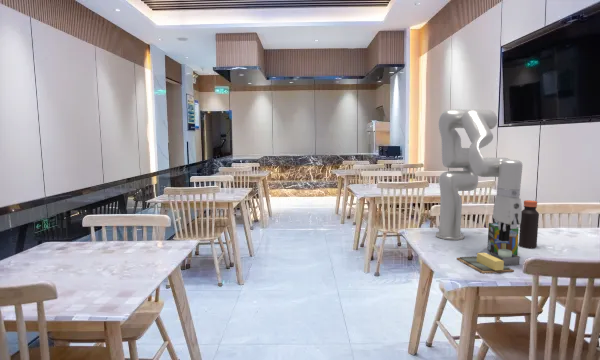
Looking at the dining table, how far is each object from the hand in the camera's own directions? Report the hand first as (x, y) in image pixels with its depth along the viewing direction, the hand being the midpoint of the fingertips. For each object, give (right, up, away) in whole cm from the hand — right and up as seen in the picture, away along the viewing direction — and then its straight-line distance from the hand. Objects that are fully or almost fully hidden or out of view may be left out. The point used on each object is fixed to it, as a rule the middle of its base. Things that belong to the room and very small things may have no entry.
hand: (503, 240), depth 143 cm
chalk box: (+6, -7, +13) cm, 16 cm away
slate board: (-9, -9, -4) cm, 13 cm away
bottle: (+22, -6, +21) cm, 31 cm away
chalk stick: (-8, -7, -12) cm, 16 cm away
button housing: (0, -8, 0) cm, 8 cm away
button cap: (0, -8, 0) cm, 8 cm away
